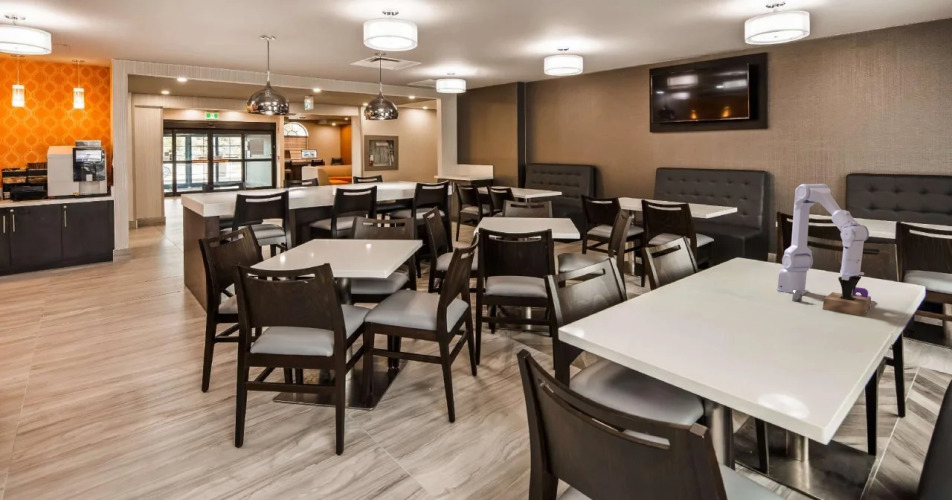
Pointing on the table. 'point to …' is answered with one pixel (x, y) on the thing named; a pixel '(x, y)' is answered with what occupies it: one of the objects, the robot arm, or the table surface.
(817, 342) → the table surface
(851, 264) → the robot arm
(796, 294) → the short pin
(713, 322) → the table surface
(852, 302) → the hole block
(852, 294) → the tall pin
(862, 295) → the bracket
